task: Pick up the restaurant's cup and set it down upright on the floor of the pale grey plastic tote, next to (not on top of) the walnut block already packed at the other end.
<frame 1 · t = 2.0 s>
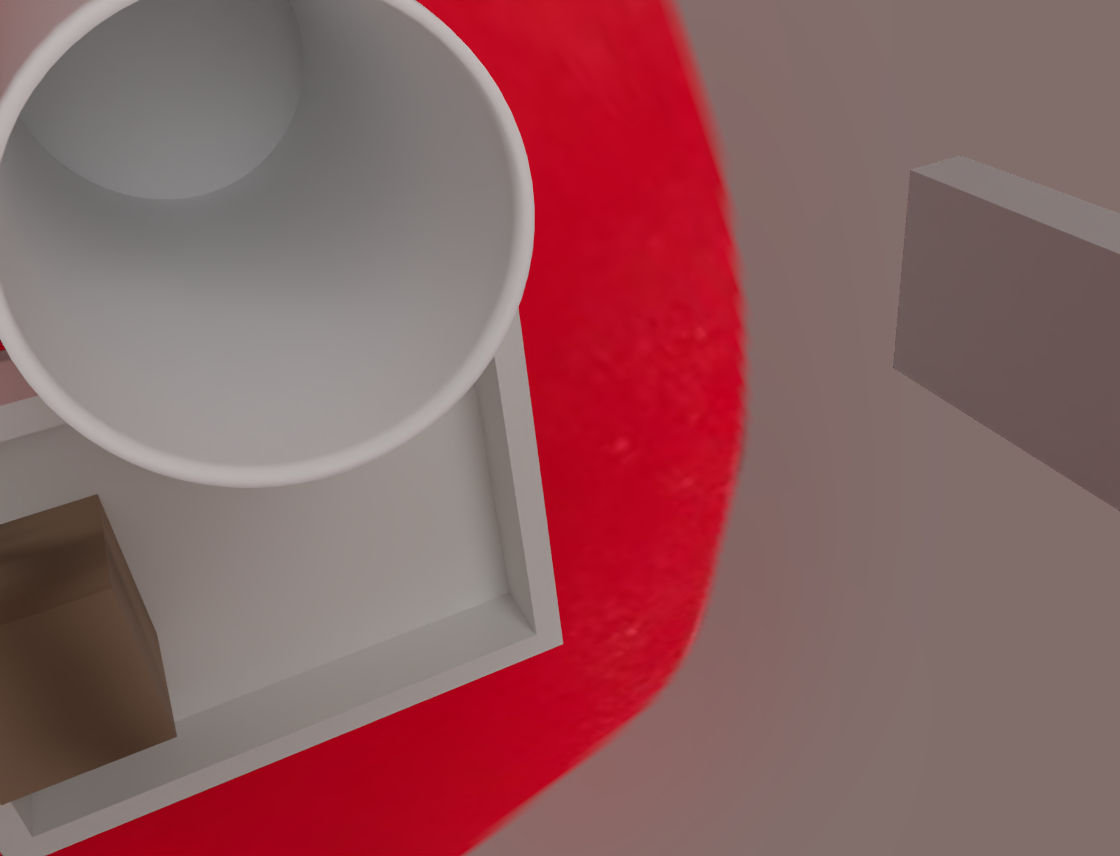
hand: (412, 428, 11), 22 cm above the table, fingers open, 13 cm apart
walnut block: (47, 595, 33), point 1 cm above the table, touching tote
tote: (232, 518, 36), on the table
cup: (155, 53, 28), on the table
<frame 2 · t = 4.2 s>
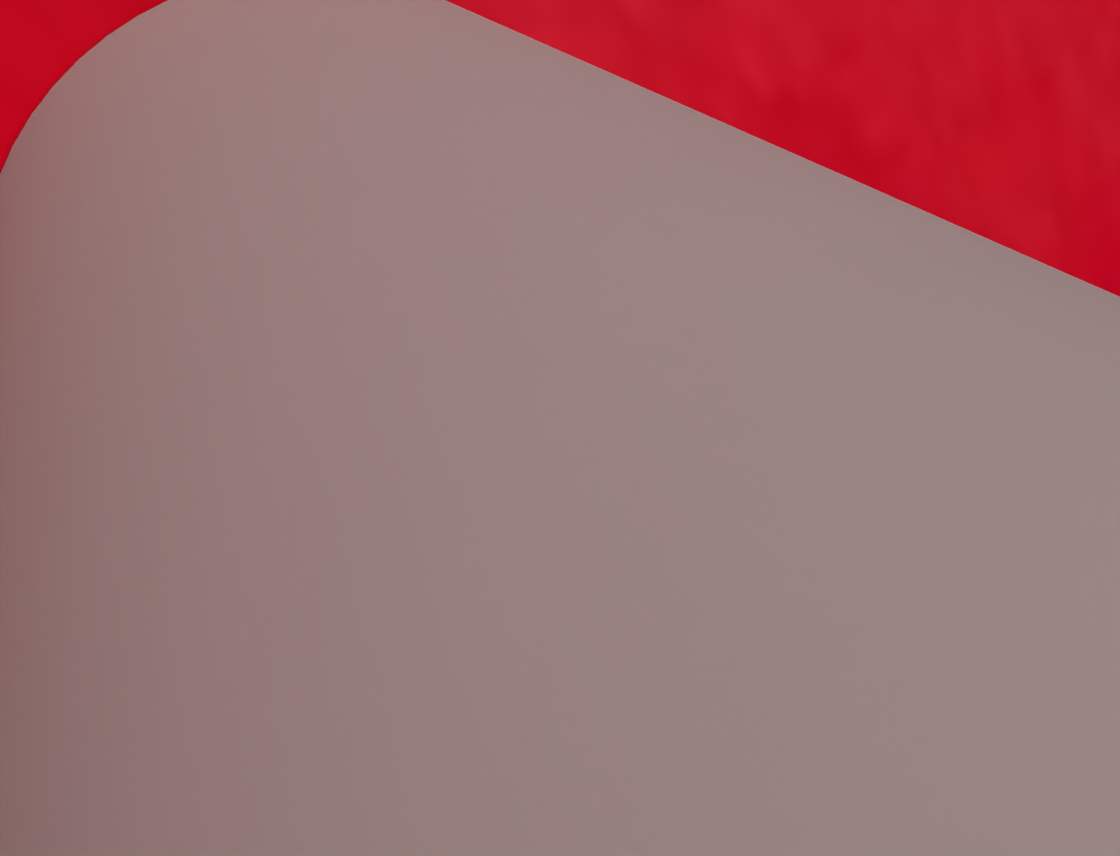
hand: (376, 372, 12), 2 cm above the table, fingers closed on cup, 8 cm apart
cup: (324, 294, 14), on the table, touching gripper
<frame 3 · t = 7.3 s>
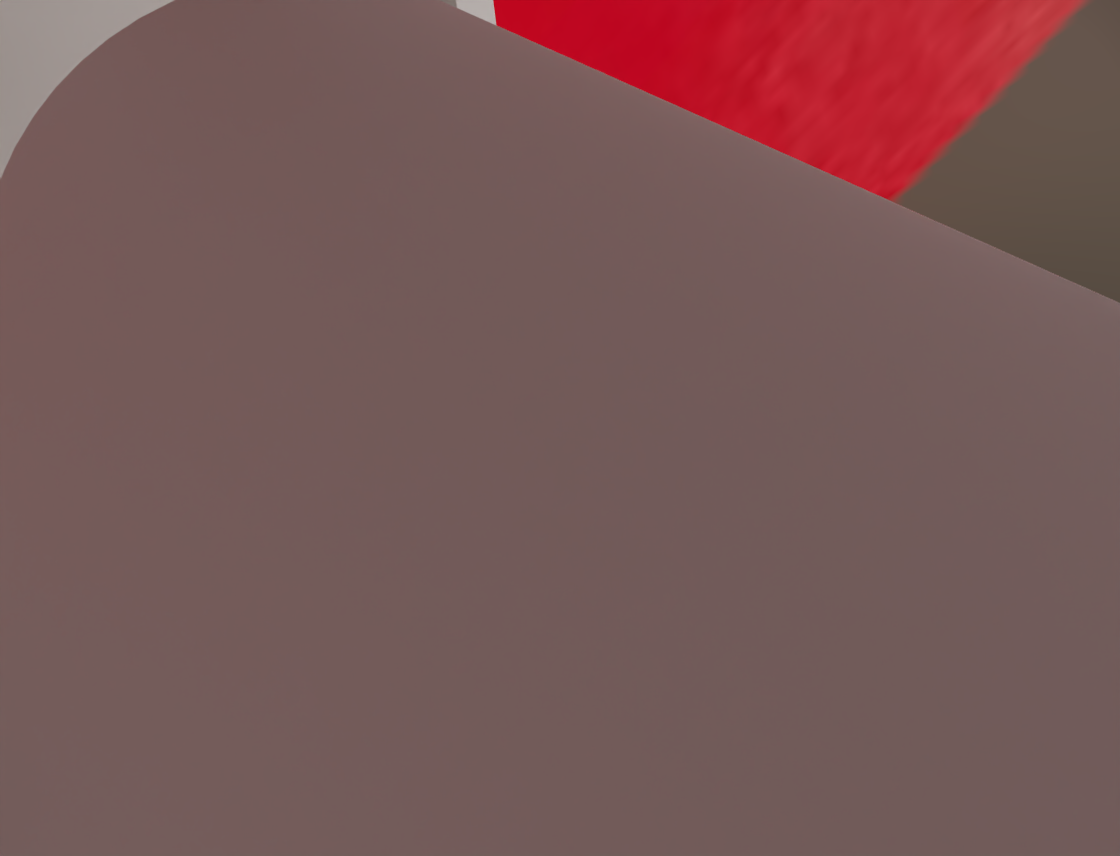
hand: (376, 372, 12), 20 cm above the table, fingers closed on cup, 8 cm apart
cup: (325, 295, 14), point 17 cm above the table, touching gripper
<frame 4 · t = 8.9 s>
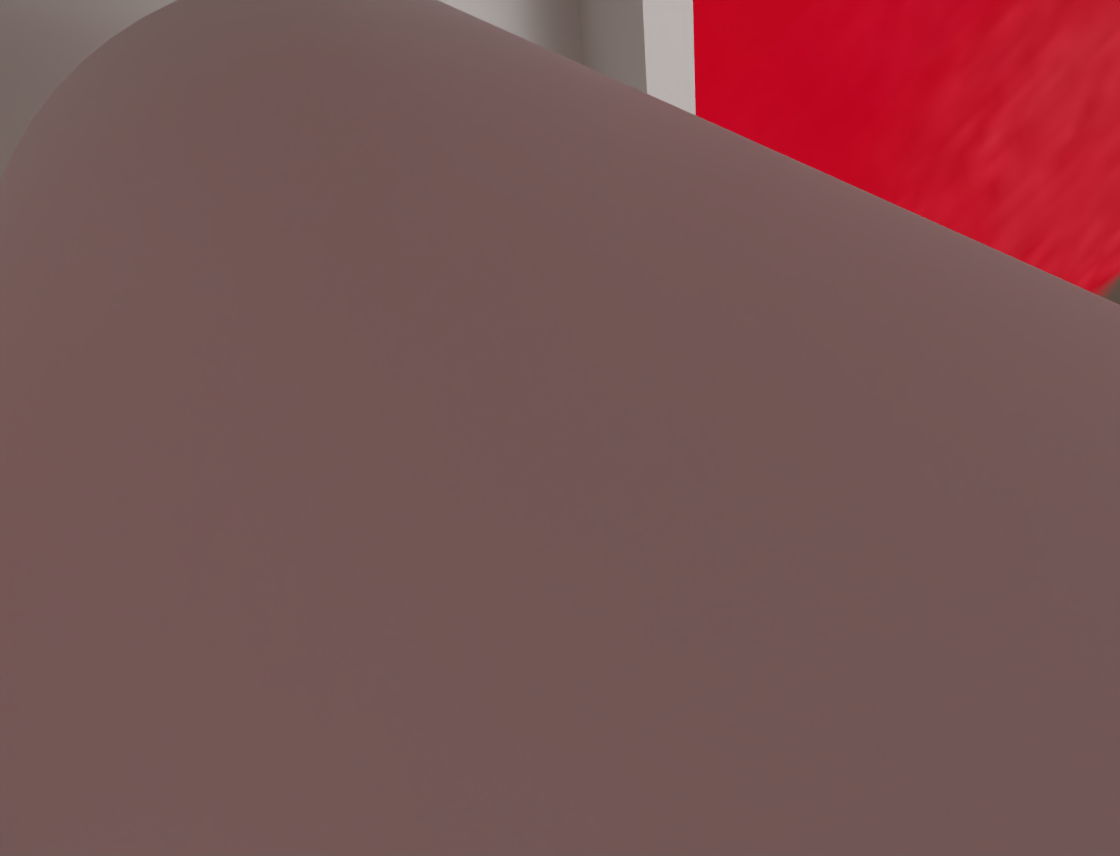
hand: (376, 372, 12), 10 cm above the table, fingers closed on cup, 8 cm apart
cup: (325, 296, 14), point 7 cm above the table, touching gripper
when the fingers open (5 cm above the table, at t = 10.4 s): cup drops 2 cm, resting on tote.
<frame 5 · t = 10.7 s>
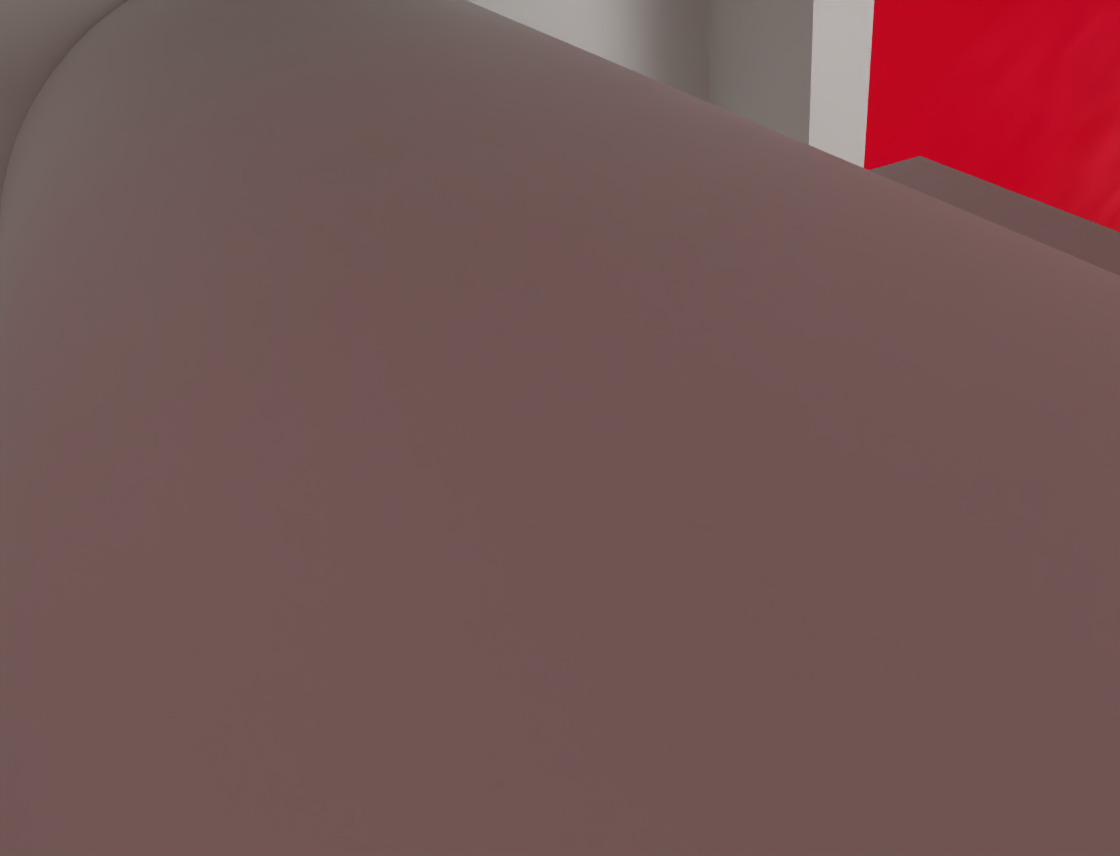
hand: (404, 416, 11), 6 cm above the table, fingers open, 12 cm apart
tote: (237, 37, 14), on the table
cup: (311, 250, 16), point 1 cm above the table, touching tote
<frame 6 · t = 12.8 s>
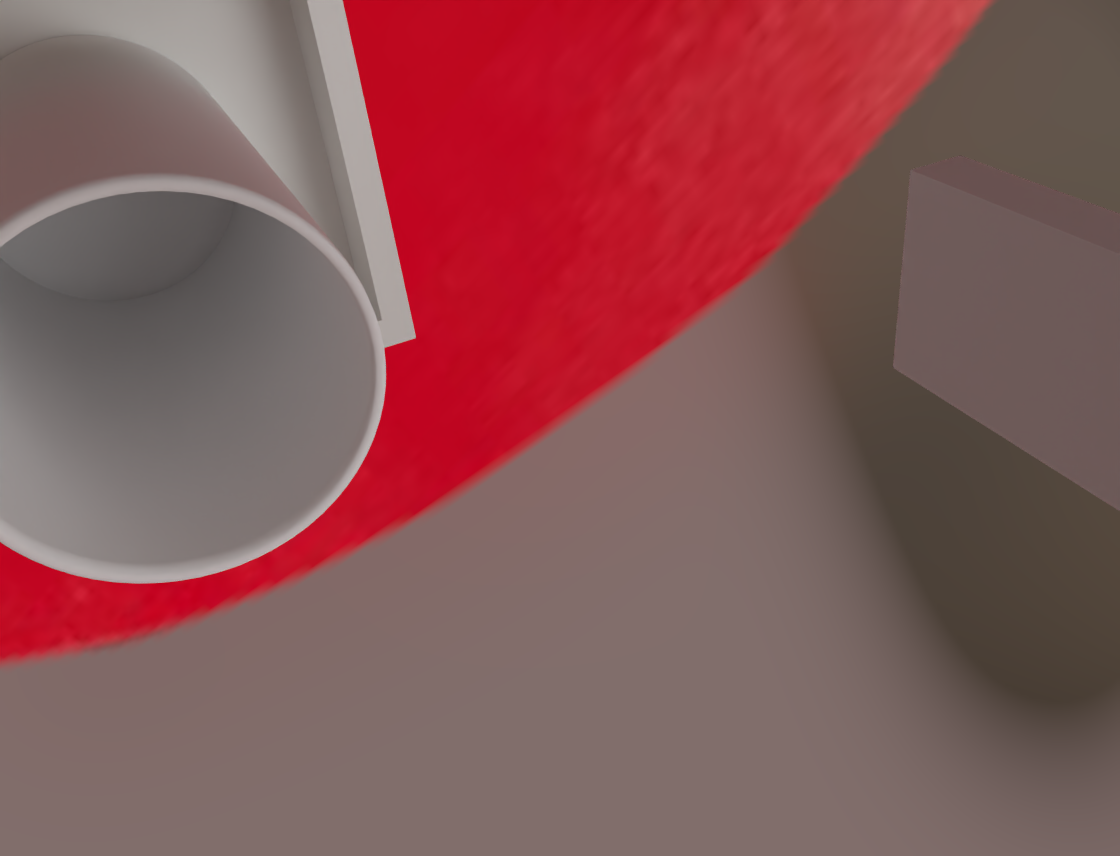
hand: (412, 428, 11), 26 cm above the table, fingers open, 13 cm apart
tote: (58, 73, 31), on the table
cup: (103, 175, 32), point 1 cm above the table, touching tote
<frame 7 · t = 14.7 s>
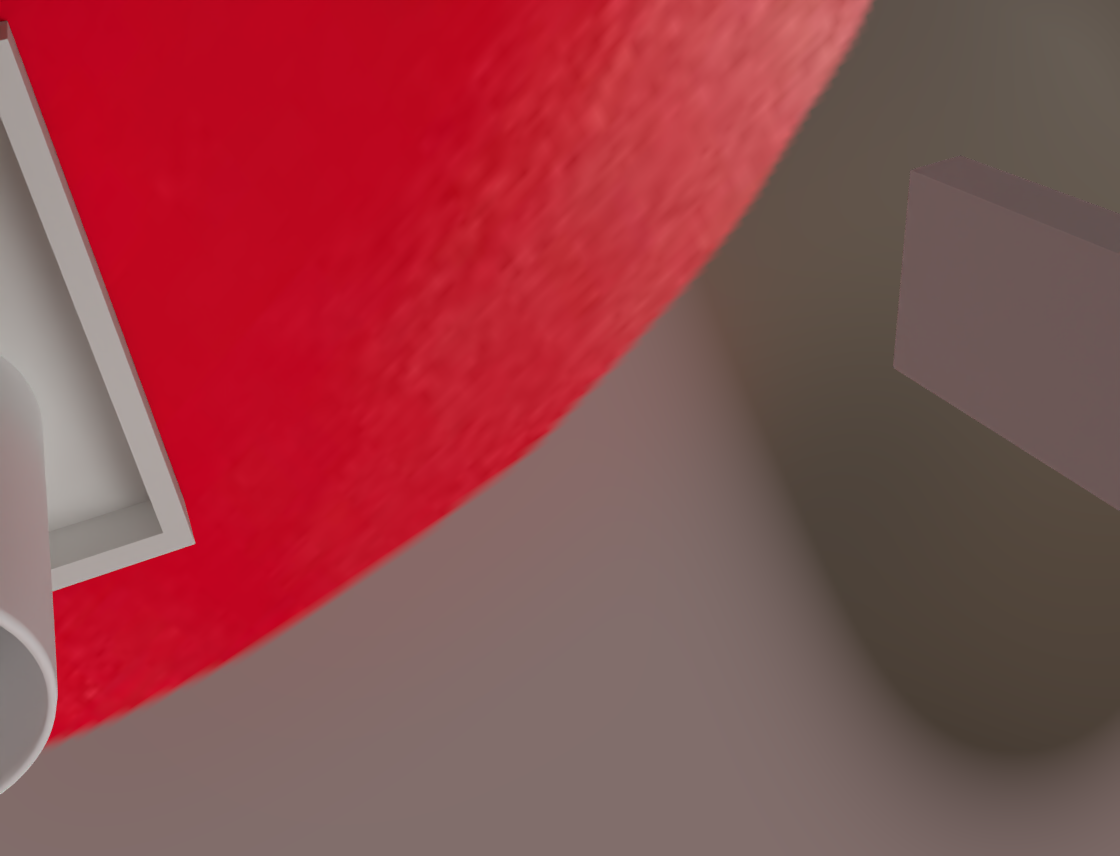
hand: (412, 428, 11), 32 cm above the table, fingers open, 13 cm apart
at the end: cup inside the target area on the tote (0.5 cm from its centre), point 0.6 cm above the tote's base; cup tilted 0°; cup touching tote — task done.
